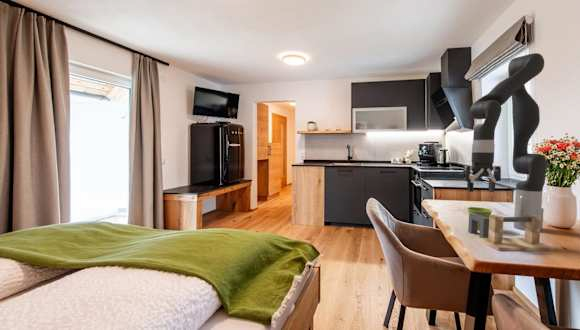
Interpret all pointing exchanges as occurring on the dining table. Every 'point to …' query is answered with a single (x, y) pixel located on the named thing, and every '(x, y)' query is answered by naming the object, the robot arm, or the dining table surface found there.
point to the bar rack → (514, 243)
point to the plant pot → (479, 213)
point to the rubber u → (474, 223)
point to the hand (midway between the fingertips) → (480, 191)
